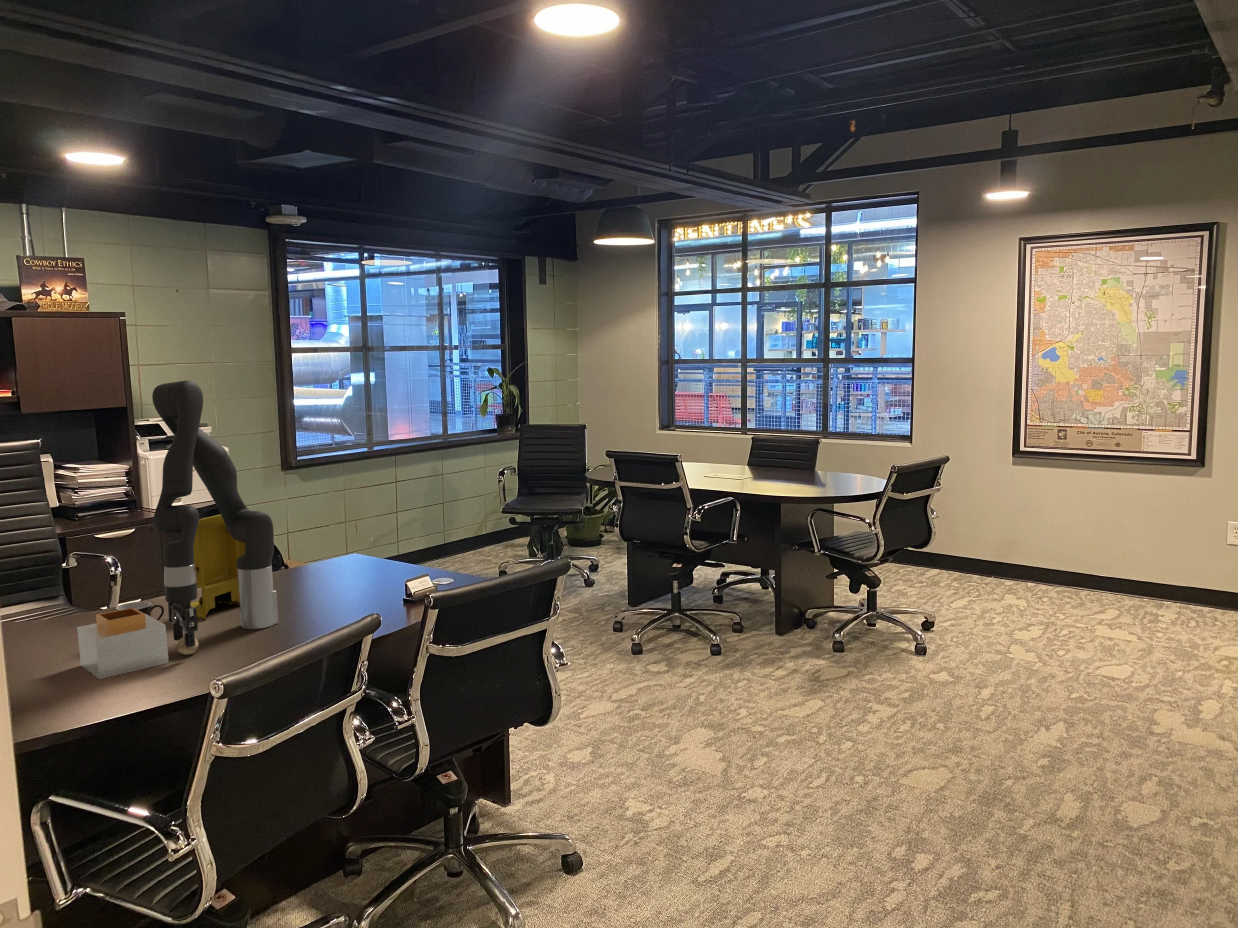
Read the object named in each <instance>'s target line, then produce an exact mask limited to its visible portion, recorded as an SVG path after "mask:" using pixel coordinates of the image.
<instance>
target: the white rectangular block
mask: <svg viewBox="0 0 1238 928" xmlns="http://www.w3.org/2000/svg"><path fill="white" fill-rule="evenodd" d="M95 619H96V620H95V621H96V623H92V624H87V625H80V626H77V627H76V628H77V639H78V641H77V642H78V651H79V660H80V662H79V663H80V666H81V667H82V668H83V667H84V669H85V670H86V671H88V673H90V672H91V673H92V674H91V673H90V674H91V675H92V676H94V677H95V676H96V677H95V678H97V679H98V680H103V679H107V677H108V678H111V676H112V677H115V675H116V676H120V675H124V674H127V672H129V673H132V671H133V672H136V671H141V670H145V669H150V668H154V667H156V666H161V665H166V664H169V652H168V639H167V638H168V637H167V636H168V635H167V626H166V624H165V623H163V622H162V621H160V620H159V621H158V620H157V618H154V617H152V616H151V617H150V616H149V615H147V614H144V613H142V612H140V611H139V610H137V609H135V608H128V609H123V610H118V611H116V610H114V611H109V612H103V613H98V614H96V615H95ZM123 673H124V674H123ZM119 674H120V675H119Z"/></svg>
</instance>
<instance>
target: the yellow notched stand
mask: <svg viewBox="0 0 1238 928" xmlns="http://www.w3.org/2000/svg"><path fill="white" fill-rule="evenodd" d="M245 551H246V543H244V542H240V541H237V540H235V539H234V538H233V537H232V536H231V535H230V533H229V531H228V529H227V527H226V525H225V523H224V520H223V518H222V516H221V513H220V514H217V515H213V516H209V517H208V516H207V517H203V518H199V523H198V527H197V531H196V535H195V540H194V565H195V570H196V582H197V589H201V597H200V598H199V600H196V601H194V602H192V603H191V602H190V604H191V607H192V608H196V611H197V619H203V621H205V620H206V621H207V614H208V613H209V611H210V610H212V609H214V608H216V604H222V603H228V604H227V605H232V604H234V606H240V601H239V586H238V572H237V559H238V558H239V557H240V556H242V555H244V554H245ZM216 602H218V603H216ZM219 602H220V603H219ZM235 604H236V605H235Z"/></svg>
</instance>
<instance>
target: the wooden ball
mask: <svg viewBox="0 0 1238 928" xmlns="http://www.w3.org/2000/svg"><path fill="white" fill-rule="evenodd" d="M177 641H178V642H177V645H176V648H177V651H178V652H179V653H180V654H181V655H184V656H189V655H193V654H194V653H196V651H197V650H198V648H199V641H198V639H197V638H196V637H195V645H194V646H192V647H186V646H185V635H183V637H182V638H181V639H180V640H177Z"/></svg>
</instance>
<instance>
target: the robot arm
mask: <svg viewBox="0 0 1238 928" xmlns="http://www.w3.org/2000/svg"><path fill="white" fill-rule="evenodd" d="M151 400H152V403H153V406H154V408H155V411H156V412H157V414H158V416H159V417H160V418H161V420H162V421H163V422H164V424H165V425H166V427H167V428H168V429H169V430H170V431H171V433H172V435H174V438H173V440H172V441H171V442H172V443H170V446H169V448H168V450H167V452H166V455H165V458H164V460H163V465H162V478H161V479H162V481H161V482H162V485H161V492H160V495H159V500H158V503H157V505H156V507H155V511H154V514H153V517H152V518H153V521H152V522H153V527H154V528H155V530H156V531H157V532H159V533H160V534H181V533H182V536H181V538H180V539H178V540H174V541H170V542H168V543H166V544H164V546H163V549H162V550H163V563H164V564H163V565H164V569H163V581H164V583H163V584H164V600H165V601H166V603H167V604H168V605H167V609H168V610H167V611H168V622H169V623H170V625H171V626H172V633H173V634H172V635H173V636H172V637H173V640H174V641H179V640H180V639H181V638H182V637H184V636H185V646H186V647H192V646H194V645H195V638H196V637H195V632H197V631H199V627H198V618H197V611H196V608H192V607H191V602H192V601H194V600H196V599H197V598H198V588H197V582H196V570H195V565H194V540H195V535H196V531H197V527H198V523H199V519H200V513H199V511H198V509H197V508H196V507H195V506H193V505H191V504H189V505H187V504H185V505H184V504H181V505H174V504H173V503H174V502H175V500H177V499H180V498H184V497H188V496H190V495H191V494H192V492H193V482H194V481H193V473H194V470H195V472H196V473H197V476H198V477H199V478H200V480H201V481H202V483H203V484H204V486H205V488H206V489H207V492H208V493H209V495H210V497H211V498H212V500H213V502H214V503H215V505H216V507H217V509H218V511H219V513H220V514H221V516H222V518H223V520H224V523H225V525H226V527H227V529H228V531H229V533H230V535H231V536H232V537H233V538H234V539H235V540H237V541H240V542H244V543H246V551H245V554H244V555H242V556H240V557H239V558H238V559H237V572H238V586H239V601H240V605H239V612H240V613H239V615H240V625H241V628H242V629H244V630H246V629H247V630H257V629H265V628H268V627H269V628H270V627H272V626H274V625H276V624H279V611H278V598H277V597H278V595H277V590H274V581H273V565H272V560H273V556H274V552H275V550H274V549H275V542H274V541H275V540H274V539H275V537H274V536H275V535H274V529H275V528H274V524H273V520H272V518H271V516H270V515H269V514H268V513H267V512H264V511H257V510H250V509H249V508H248V507H247V505H246V504H245V502H244V501H243V499H242V497H241V495H240V494H239V490H238V475H237V474H238V473H237V469H236V466H235V464H234V462H233V460H232V458H231V456H230V454H229V453H228V452H227V450H226V448H225V447H224V446H222V444H220V442H218V441H217V440H216V439H214V438H213V437H212V436H211V435H209V434H208V433H206V432H205V431H203V430H202V428H200V423H201V418H202V414H203V406H204V394H203V390H202V389H201V387H200V386H199V385H198V383H196V382H195V381H192V380H180V381H173V382H167V383H166V382H165V383H162V384H159V385H156V386H155V388H154V389H153V391H152V399H151Z"/></svg>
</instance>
